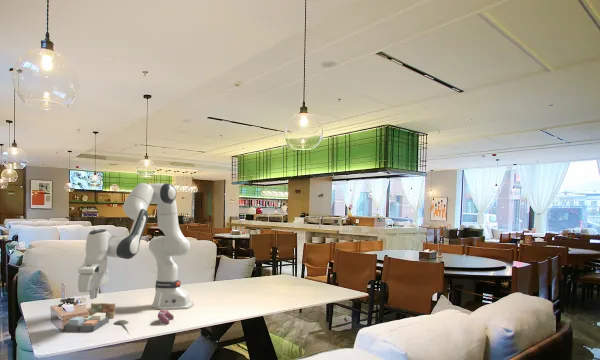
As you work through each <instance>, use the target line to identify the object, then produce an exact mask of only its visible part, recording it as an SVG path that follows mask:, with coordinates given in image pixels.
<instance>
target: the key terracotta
mask: <svg viewBox="0 0 600 360" xmlns="http://www.w3.org/2000/svg"><path fill="white" fill-rule="evenodd" d="M96 323H98V320H88V321H86V322H84V323H83V325H94V324H96Z"/></svg>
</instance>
